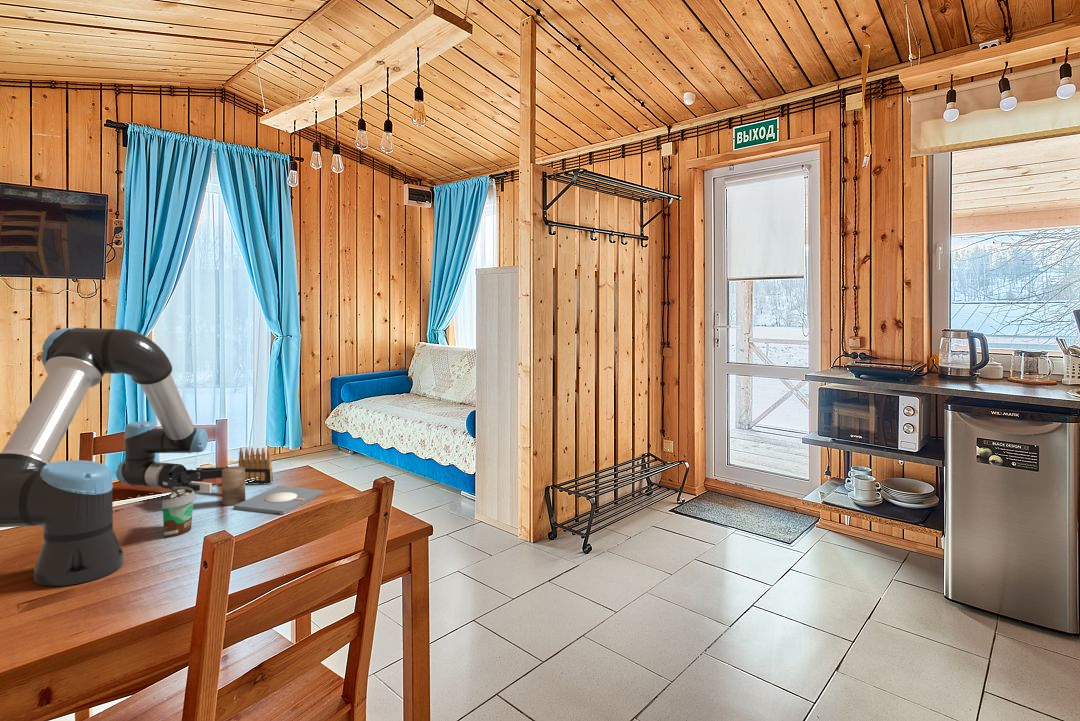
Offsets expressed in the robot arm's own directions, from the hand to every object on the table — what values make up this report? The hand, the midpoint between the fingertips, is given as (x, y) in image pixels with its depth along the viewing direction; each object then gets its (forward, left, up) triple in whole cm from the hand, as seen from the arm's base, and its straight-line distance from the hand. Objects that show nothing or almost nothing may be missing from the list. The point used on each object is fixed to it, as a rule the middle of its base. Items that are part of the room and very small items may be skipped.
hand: (228, 481), depth 171 cm
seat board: (+4, -14, -6) cm, 16 cm away
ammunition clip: (+17, +5, -6) cm, 19 cm away
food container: (-23, -5, -6) cm, 24 cm away
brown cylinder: (-1, -2, -6) cm, 6 cm away
